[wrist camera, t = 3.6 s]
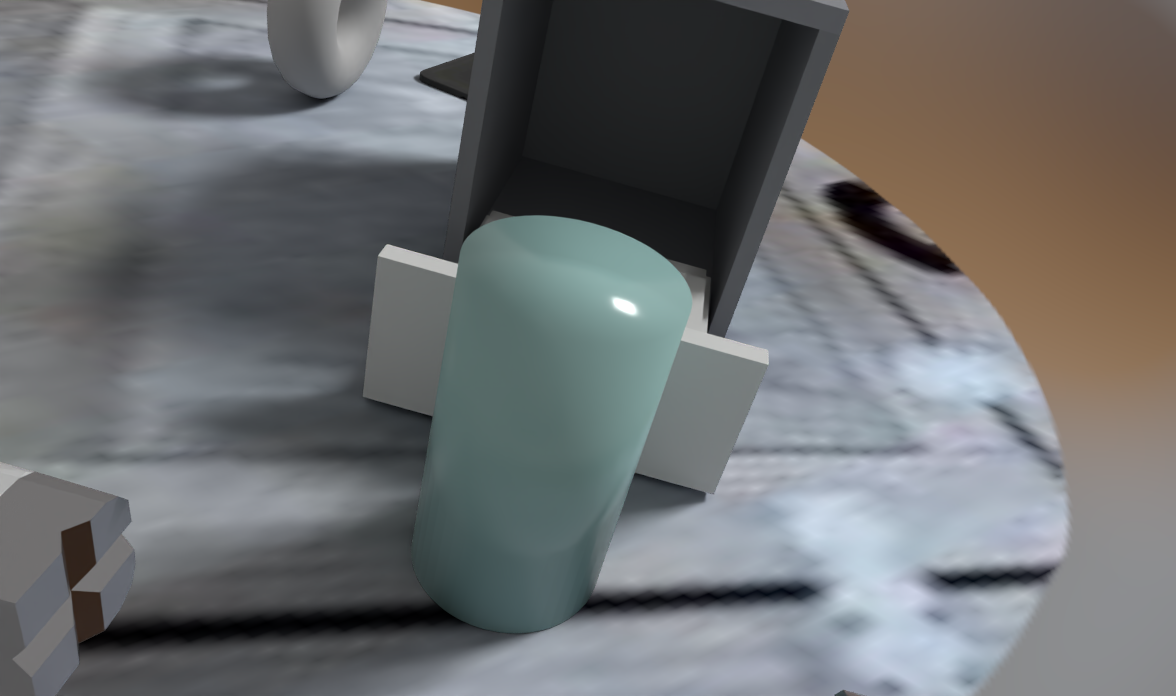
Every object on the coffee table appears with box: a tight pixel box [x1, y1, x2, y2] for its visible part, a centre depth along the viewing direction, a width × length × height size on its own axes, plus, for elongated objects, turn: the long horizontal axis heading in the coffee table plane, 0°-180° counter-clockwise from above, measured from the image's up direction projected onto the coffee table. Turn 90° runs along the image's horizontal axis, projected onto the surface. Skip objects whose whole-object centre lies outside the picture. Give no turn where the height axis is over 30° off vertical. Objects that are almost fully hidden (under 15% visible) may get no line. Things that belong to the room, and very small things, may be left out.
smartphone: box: [420, 53, 474, 99], centre depth 60 cm, size 8×15×1 cm, turn 155°
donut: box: [267, 0, 388, 99], centre depth 47 cm, size 10×4×10 cm, turn 169°
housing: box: [442, 0, 849, 338], centre depth 38 cm, size 13×12×14 cm
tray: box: [363, 210, 769, 494], centre depth 33 cm, size 12×12×5 cm
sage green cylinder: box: [411, 215, 692, 633], centre depth 23 cm, size 5×5×10 cm
